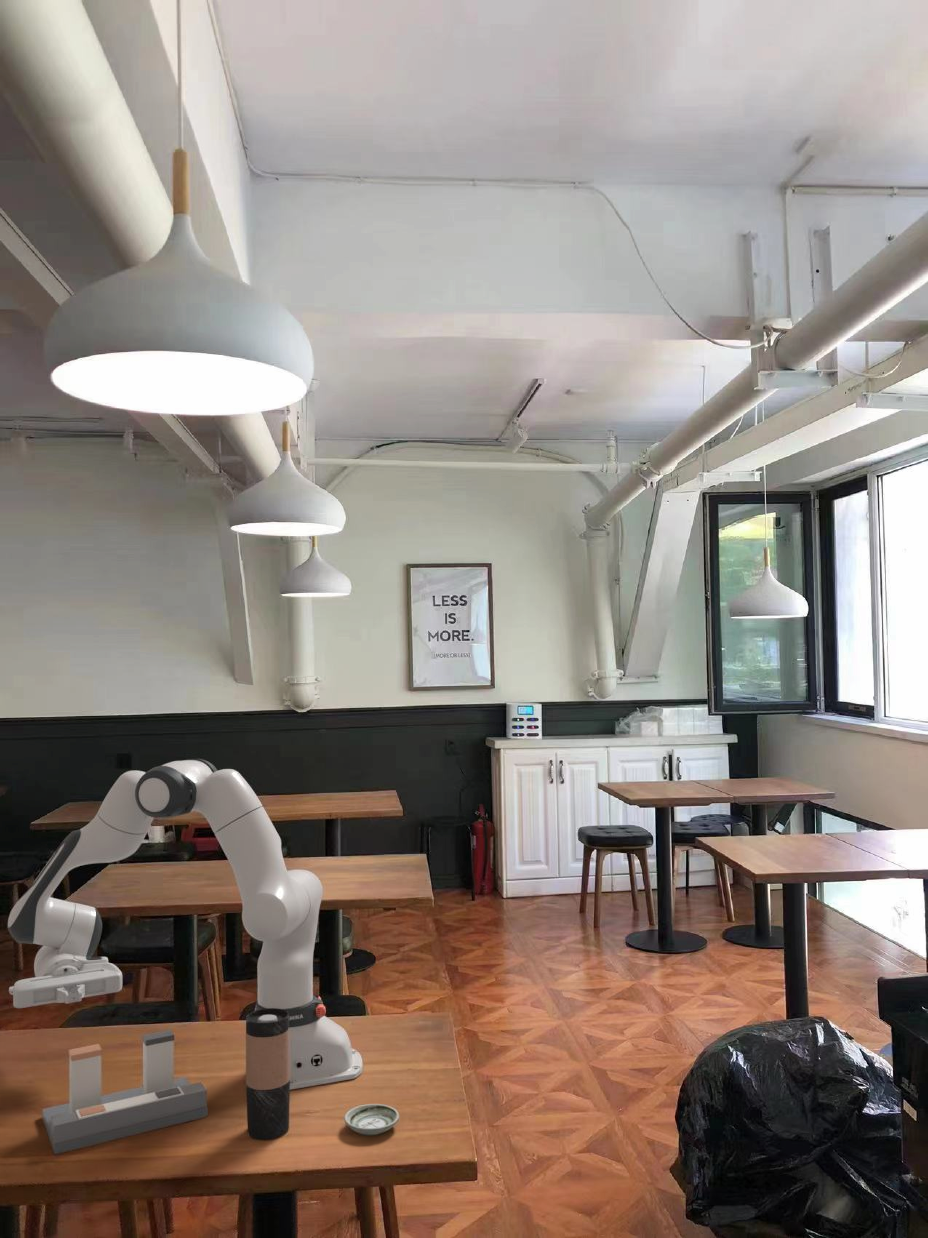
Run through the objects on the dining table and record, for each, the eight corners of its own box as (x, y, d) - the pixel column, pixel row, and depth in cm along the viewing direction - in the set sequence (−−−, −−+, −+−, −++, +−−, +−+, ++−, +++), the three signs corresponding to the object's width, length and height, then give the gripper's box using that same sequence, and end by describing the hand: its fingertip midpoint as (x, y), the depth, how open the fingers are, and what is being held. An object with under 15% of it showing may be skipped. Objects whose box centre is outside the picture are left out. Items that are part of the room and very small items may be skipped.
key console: (185, 1084, 193) (185, 1059, 193) (207, 1116, 179) (207, 1089, 180) (42, 1117, 180) (42, 1090, 180) (54, 1154, 166) (54, 1125, 167)
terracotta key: (68, 1111, 178) (68, 1049, 179) (98, 1104, 181) (98, 1043, 181) (71, 1118, 176) (71, 1055, 176) (102, 1111, 178) (101, 1049, 179)
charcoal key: (142, 1094, 185) (142, 1035, 185) (170, 1088, 188) (170, 1029, 188) (146, 1101, 182) (146, 1040, 183) (174, 1094, 185) (174, 1034, 185)
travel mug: (299, 1125, 175) (297, 1011, 176) (273, 1144, 168) (272, 1025, 169) (263, 1117, 179) (262, 1005, 179) (237, 1136, 172) (236, 1019, 173)
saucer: (377, 1148, 167) (377, 1133, 167) (333, 1134, 172) (333, 1120, 172) (410, 1124, 175) (409, 1111, 175) (367, 1112, 180) (366, 1098, 180)
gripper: (7, 971, 196) (15, 991, 184) (114, 955, 207) (128, 973, 195) (7, 1003, 196) (14, 1025, 184) (114, 985, 206) (127, 1005, 194)
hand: (73, 998), depth 190 cm, fingers closed
